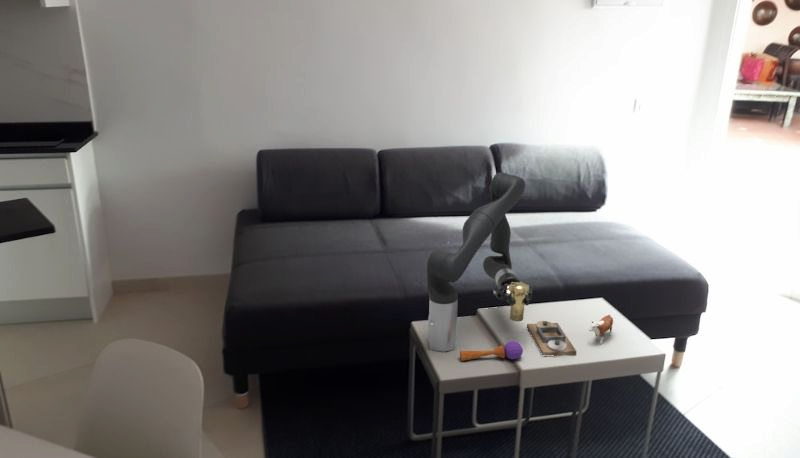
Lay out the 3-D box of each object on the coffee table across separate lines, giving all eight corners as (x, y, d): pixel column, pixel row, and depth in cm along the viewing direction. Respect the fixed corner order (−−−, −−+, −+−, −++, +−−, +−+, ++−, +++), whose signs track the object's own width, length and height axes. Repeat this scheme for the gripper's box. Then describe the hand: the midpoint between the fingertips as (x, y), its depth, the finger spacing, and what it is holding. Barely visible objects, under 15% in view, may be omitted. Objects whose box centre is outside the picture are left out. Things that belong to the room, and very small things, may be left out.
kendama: (458, 344, 204) (519, 337, 205) (460, 361, 205) (520, 354, 206) (461, 350, 198) (523, 343, 199) (463, 368, 199) (525, 361, 200)
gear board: (542, 356, 204) (543, 346, 202) (526, 327, 222) (527, 318, 221) (576, 355, 204) (577, 345, 203) (557, 326, 223) (557, 317, 222)
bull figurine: (584, 344, 211) (587, 322, 209) (604, 330, 220) (606, 309, 218) (596, 348, 208) (599, 326, 206) (615, 334, 217) (618, 313, 215)
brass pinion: (509, 322, 206) (511, 289, 203) (504, 314, 212) (507, 282, 208) (528, 322, 207) (531, 288, 203) (523, 314, 213) (526, 281, 209)
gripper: (488, 272, 219) (499, 292, 203) (528, 272, 220) (542, 291, 204) (487, 292, 221) (497, 313, 205) (526, 291, 223) (540, 312, 206)
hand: (520, 302), depth 205 cm, fingers closed on brass pinion, 4 cm apart
